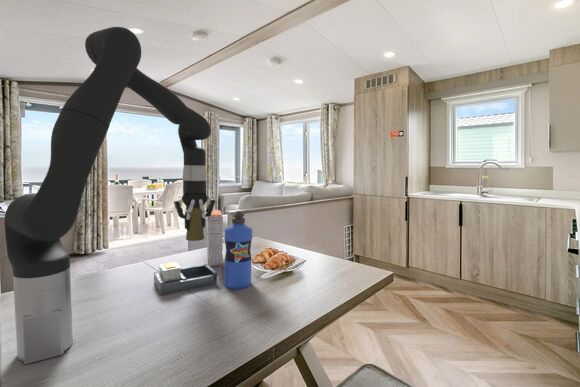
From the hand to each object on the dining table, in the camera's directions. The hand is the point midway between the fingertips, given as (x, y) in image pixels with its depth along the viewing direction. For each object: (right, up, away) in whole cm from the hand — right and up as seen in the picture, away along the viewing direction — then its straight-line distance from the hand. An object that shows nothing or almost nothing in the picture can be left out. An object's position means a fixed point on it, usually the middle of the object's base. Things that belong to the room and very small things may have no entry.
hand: (195, 229), depth 102 cm
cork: (0, -3, 0) cm, 3 cm away
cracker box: (0, -17, +25) cm, 30 cm away
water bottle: (+14, -19, +1) cm, 24 cm away
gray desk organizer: (-3, -18, 0) cm, 19 cm away
